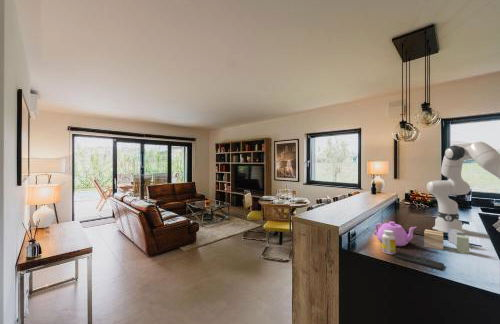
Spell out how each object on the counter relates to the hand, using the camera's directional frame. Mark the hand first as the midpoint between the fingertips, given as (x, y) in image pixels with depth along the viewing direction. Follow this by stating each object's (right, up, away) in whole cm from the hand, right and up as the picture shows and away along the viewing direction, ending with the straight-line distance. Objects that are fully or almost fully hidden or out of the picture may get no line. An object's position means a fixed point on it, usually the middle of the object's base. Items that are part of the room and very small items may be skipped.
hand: (495, 228), depth 119 cm
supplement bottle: (-54, -17, +9) cm, 57 cm away
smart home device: (-46, -17, -3) cm, 49 cm away
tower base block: (-19, -17, +18) cm, 31 cm away
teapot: (-40, -17, +24) cm, 50 cm away
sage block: (-10, -16, +9) cm, 21 cm away
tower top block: (-19, -12, +18) cm, 29 cm away
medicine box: (-2, -17, +21) cm, 26 cm away
